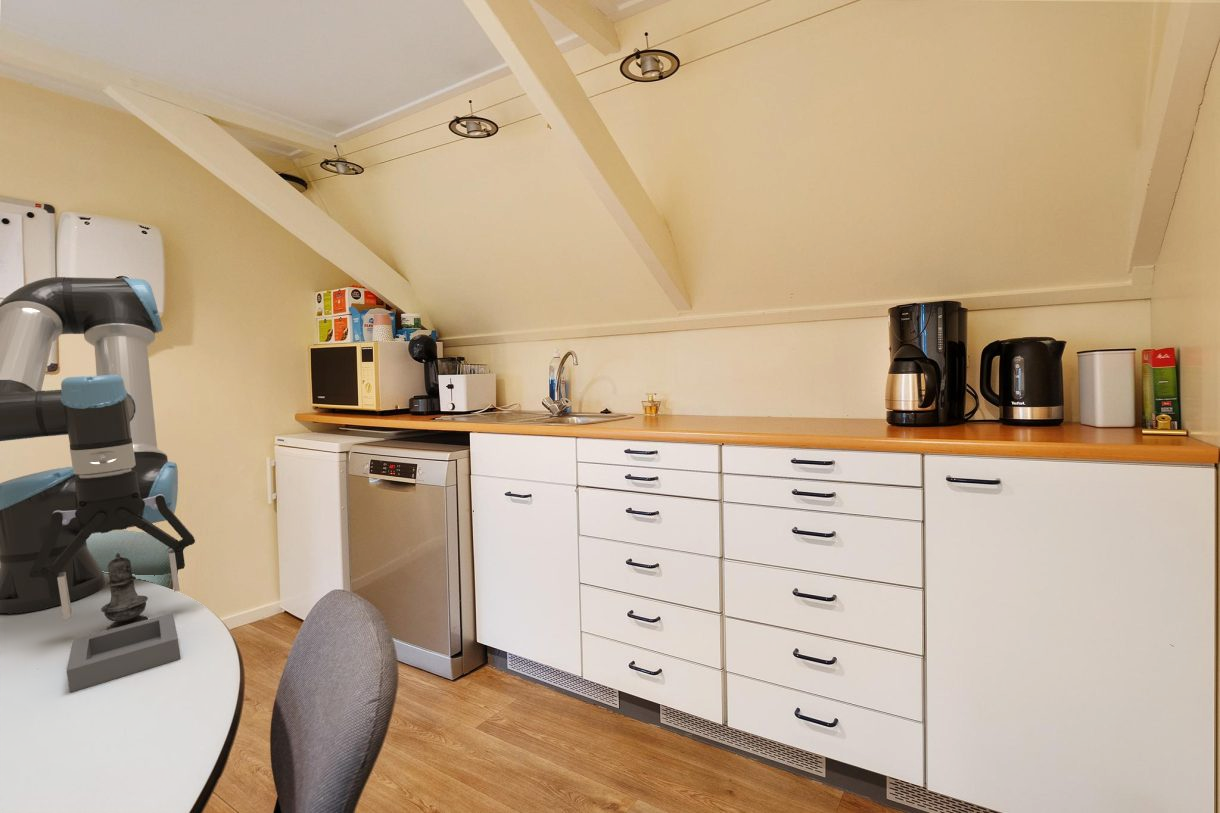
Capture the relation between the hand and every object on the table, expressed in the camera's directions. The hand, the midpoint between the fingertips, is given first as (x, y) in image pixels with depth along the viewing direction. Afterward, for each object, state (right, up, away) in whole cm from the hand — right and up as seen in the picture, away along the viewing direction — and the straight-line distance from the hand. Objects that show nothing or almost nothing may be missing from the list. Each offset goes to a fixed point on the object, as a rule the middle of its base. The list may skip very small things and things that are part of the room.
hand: (124, 601), depth 95 cm
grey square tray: (+10, -4, -11) cm, 15 cm away
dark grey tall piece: (0, -4, 0) cm, 4 cm away
